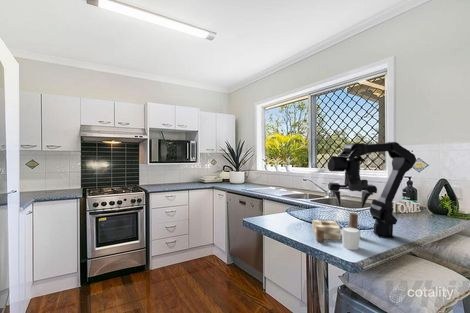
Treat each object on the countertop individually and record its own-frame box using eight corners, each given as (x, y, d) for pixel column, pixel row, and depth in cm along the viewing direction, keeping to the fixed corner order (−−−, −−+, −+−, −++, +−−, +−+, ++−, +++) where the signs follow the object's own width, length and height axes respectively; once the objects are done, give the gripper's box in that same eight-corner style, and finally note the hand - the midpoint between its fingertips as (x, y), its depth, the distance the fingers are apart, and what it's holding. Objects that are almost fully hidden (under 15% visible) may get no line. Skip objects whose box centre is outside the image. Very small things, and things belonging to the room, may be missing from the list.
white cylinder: (354, 252, 92) (355, 234, 91) (337, 245, 97) (338, 228, 97) (363, 247, 96) (364, 230, 95) (346, 242, 101) (347, 225, 101)
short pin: (322, 240, 103) (322, 228, 103) (323, 242, 100) (324, 230, 100) (316, 239, 103) (316, 228, 103) (317, 242, 101) (317, 230, 101)
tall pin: (355, 234, 110) (355, 212, 109) (357, 236, 107) (357, 214, 107) (348, 234, 110) (349, 212, 110) (350, 236, 107) (351, 214, 107)
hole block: (334, 231, 114) (334, 220, 113) (340, 239, 104) (340, 228, 103) (312, 230, 115) (312, 219, 115) (316, 238, 105) (316, 226, 105)
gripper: (332, 172, 100) (331, 209, 101) (382, 174, 96) (380, 213, 97) (328, 170, 111) (327, 203, 112) (373, 172, 107) (371, 206, 108)
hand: (350, 206), depth 107 cm, fingers open, 9 cm apart
